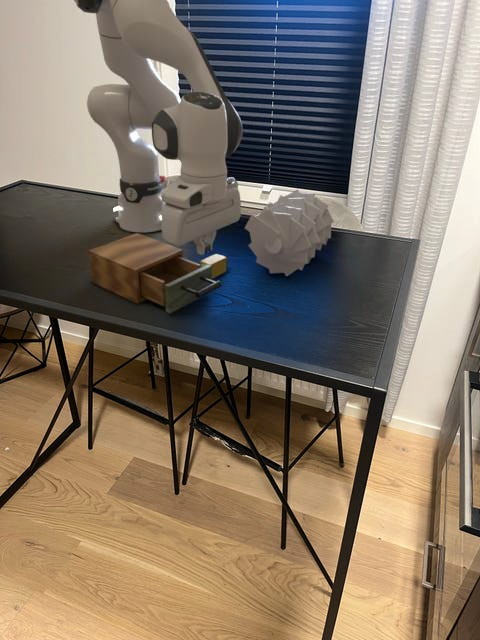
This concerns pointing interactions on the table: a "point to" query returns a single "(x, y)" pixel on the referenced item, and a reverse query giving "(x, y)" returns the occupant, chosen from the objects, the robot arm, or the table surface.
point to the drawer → (176, 282)
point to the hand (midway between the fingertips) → (204, 252)
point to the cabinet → (128, 263)
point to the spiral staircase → (289, 232)
